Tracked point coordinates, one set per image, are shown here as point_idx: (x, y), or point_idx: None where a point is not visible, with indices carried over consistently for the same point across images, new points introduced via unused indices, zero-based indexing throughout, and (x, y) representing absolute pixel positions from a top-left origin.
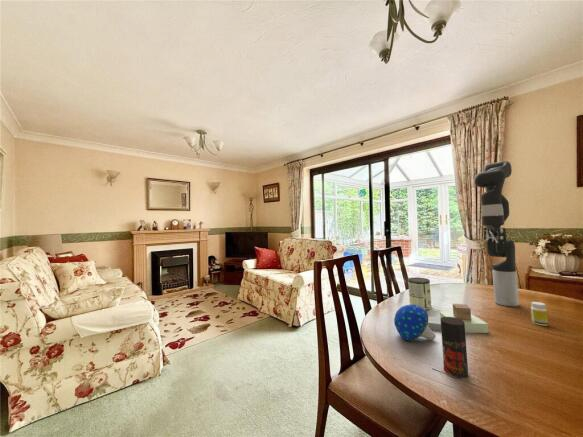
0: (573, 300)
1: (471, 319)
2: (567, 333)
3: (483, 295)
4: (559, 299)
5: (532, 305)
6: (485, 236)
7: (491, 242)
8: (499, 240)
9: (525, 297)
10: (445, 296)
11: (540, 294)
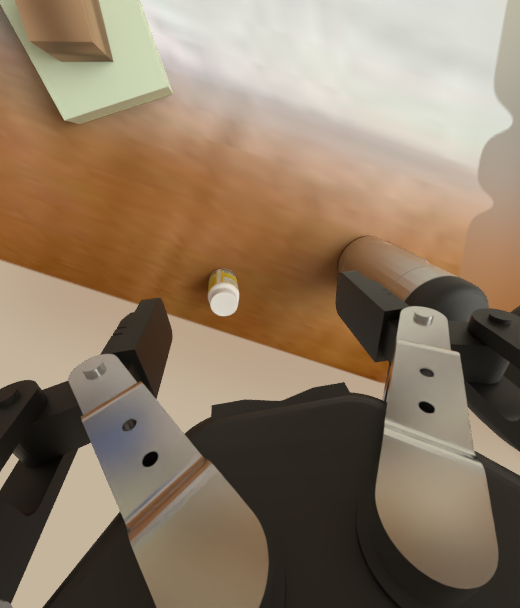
0: None
1: (79, 67)
2: (180, 306)
3: (440, 225)
4: None
5: (220, 289)
6: (509, 354)
7: (372, 342)
8: None
9: None
10: (443, 72)
11: None
